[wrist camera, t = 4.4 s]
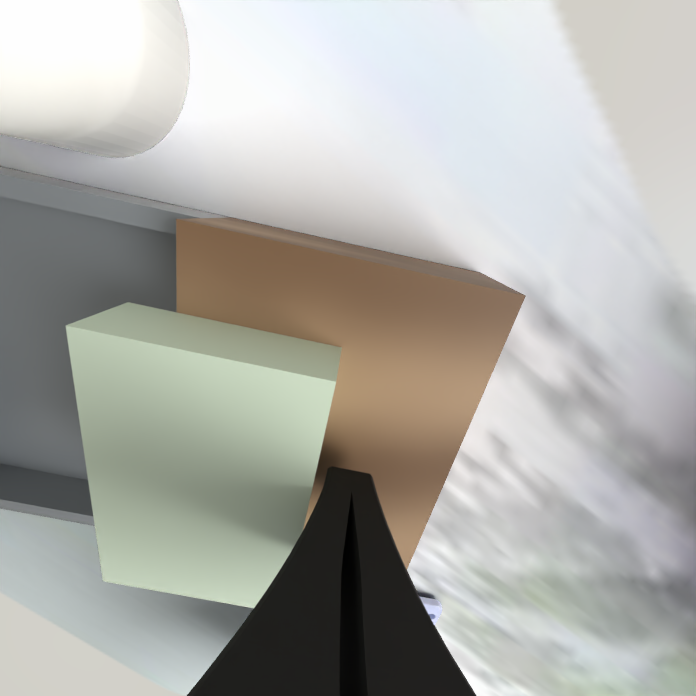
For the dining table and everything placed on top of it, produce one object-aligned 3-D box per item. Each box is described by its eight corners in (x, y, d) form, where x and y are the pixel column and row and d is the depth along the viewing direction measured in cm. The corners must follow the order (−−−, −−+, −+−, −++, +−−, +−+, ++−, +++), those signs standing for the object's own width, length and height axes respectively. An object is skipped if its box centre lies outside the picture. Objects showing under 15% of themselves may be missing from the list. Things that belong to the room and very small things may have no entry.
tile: (296, 554, 12) (284, 613, 11) (142, 526, 12) (102, 581, 10) (341, 347, 9) (335, 381, 7) (127, 302, 9) (65, 325, 7)
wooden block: (383, 535, 17) (388, 611, 14) (214, 503, 17) (178, 573, 13) (480, 272, 11) (525, 295, 8) (230, 217, 11) (176, 218, 8)
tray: (214, 503, 17) (193, 544, 15) (-2, 462, 16) (-55, 498, 14) (230, 217, 11) (201, 218, 9) (-94, 145, 11) (-201, 129, 9)
